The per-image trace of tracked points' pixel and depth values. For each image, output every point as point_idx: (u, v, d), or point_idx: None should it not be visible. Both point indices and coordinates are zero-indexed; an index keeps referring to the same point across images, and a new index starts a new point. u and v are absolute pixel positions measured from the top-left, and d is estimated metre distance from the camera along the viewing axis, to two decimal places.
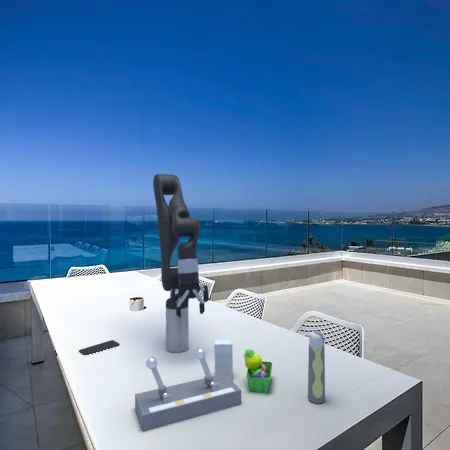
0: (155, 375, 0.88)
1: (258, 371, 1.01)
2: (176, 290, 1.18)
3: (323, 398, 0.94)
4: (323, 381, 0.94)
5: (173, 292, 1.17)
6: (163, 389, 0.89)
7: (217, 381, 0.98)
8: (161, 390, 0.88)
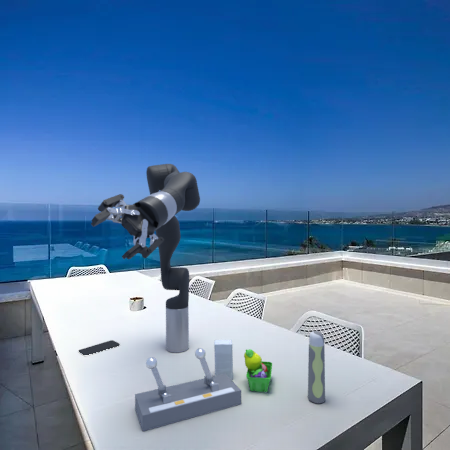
0: (155, 375, 0.88)
1: (258, 371, 1.01)
2: None
3: (323, 398, 0.94)
4: (323, 381, 0.94)
5: None
6: (163, 389, 0.89)
7: (217, 381, 0.98)
8: (161, 390, 0.88)
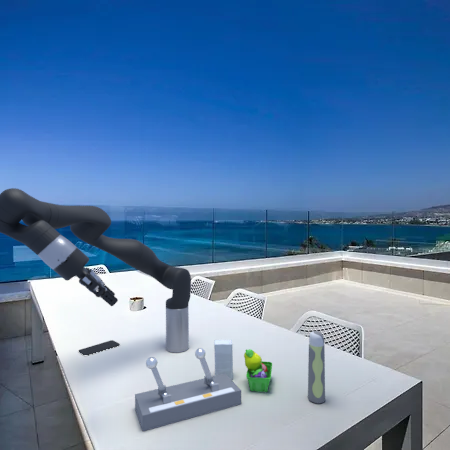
0: (155, 375, 0.88)
1: (258, 371, 1.01)
2: None
3: (323, 398, 0.94)
4: (323, 381, 0.94)
5: (91, 277, 0.77)
6: (163, 389, 0.89)
7: (217, 381, 0.98)
8: (161, 390, 0.88)
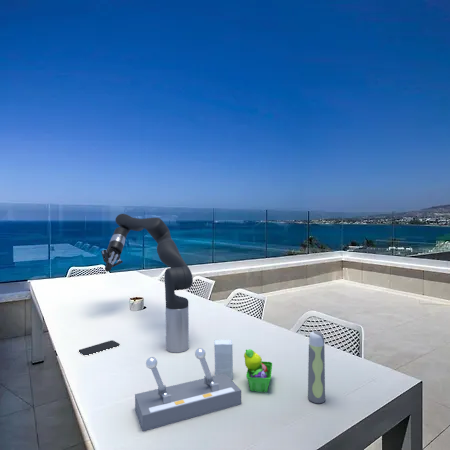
0: (155, 375, 0.88)
1: (258, 371, 1.01)
2: None
3: (323, 398, 0.94)
4: (323, 381, 0.94)
5: None
6: (163, 389, 0.89)
7: (217, 381, 0.98)
8: (161, 390, 0.88)
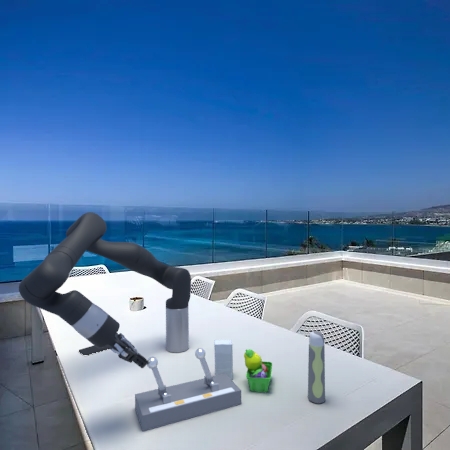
0: (155, 375, 0.88)
1: (258, 371, 1.01)
2: None
3: (323, 398, 0.94)
4: (323, 381, 0.94)
5: None
6: (163, 389, 0.89)
7: (217, 381, 0.98)
8: (161, 390, 0.88)
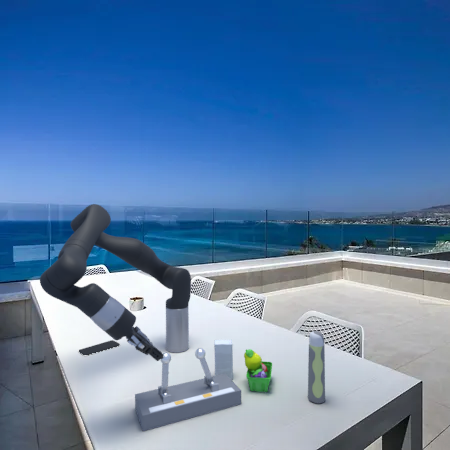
0: (164, 371, 0.89)
1: (258, 371, 1.01)
2: None
3: (323, 398, 0.94)
4: (323, 381, 0.94)
5: None
6: (166, 388, 0.89)
7: (217, 381, 0.98)
8: (164, 389, 0.89)
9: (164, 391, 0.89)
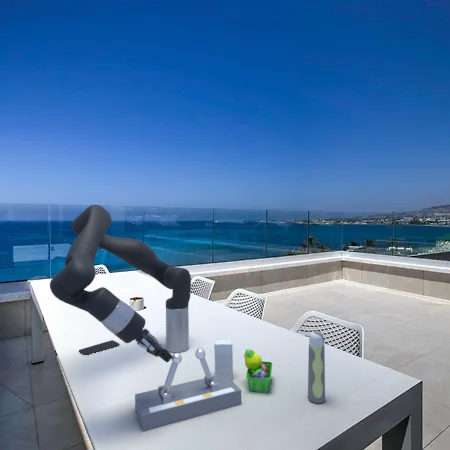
0: (172, 371, 0.90)
1: (258, 371, 1.01)
2: None
3: (323, 398, 0.94)
4: (323, 381, 0.94)
5: None
6: (168, 389, 0.89)
7: (217, 381, 0.98)
8: (166, 388, 0.89)
9: (165, 391, 0.89)
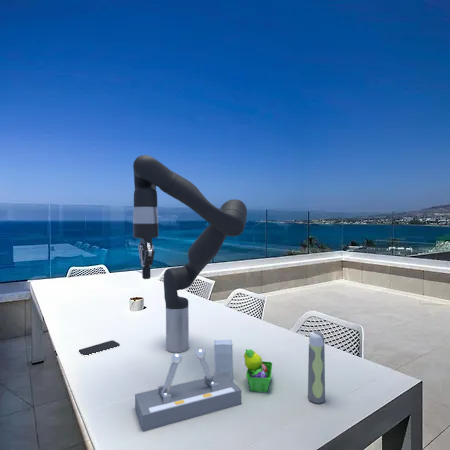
0: (172, 371, 0.90)
1: (258, 371, 1.01)
2: None
3: (323, 398, 0.94)
4: (323, 381, 0.94)
5: None
6: (168, 389, 0.89)
7: (217, 381, 0.98)
8: (166, 388, 0.89)
9: (165, 391, 0.89)
